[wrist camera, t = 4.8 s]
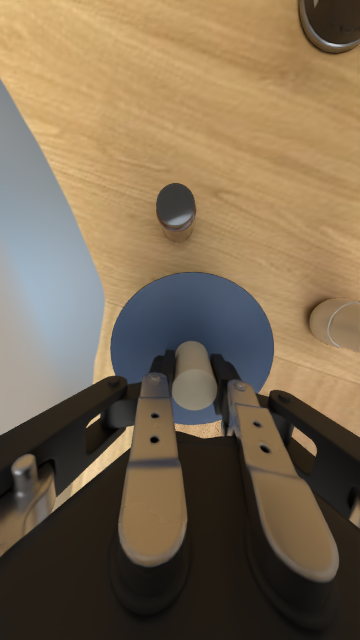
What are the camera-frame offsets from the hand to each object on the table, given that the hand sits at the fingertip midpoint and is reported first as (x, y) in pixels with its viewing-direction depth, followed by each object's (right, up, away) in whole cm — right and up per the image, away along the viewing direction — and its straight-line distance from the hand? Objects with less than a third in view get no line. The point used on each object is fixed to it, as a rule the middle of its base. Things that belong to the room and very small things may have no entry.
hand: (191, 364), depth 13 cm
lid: (0, 0, +2) cm, 2 cm away
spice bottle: (-1, +16, +12) cm, 20 cm away
